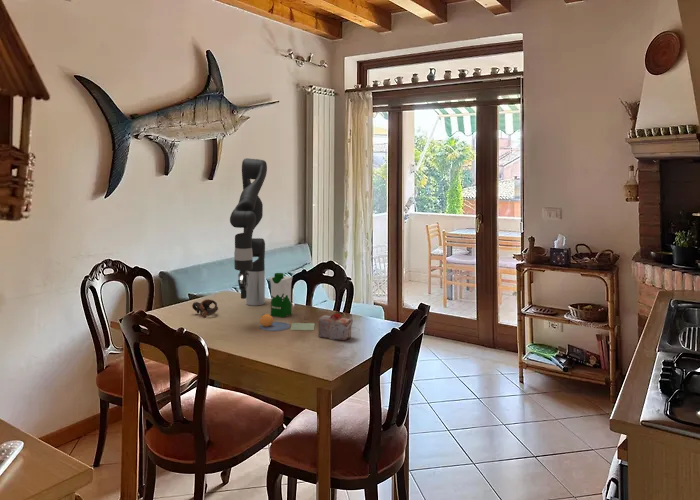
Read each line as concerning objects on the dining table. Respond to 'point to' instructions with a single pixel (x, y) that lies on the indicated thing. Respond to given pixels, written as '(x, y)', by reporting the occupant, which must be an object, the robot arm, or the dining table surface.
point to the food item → (334, 327)
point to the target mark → (276, 326)
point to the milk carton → (280, 295)
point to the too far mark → (302, 326)
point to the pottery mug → (205, 307)
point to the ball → (266, 320)
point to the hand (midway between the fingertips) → (243, 298)
